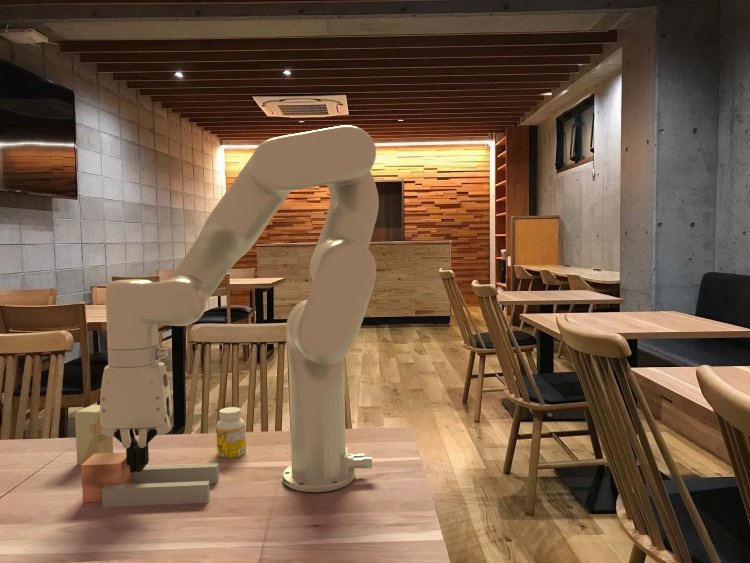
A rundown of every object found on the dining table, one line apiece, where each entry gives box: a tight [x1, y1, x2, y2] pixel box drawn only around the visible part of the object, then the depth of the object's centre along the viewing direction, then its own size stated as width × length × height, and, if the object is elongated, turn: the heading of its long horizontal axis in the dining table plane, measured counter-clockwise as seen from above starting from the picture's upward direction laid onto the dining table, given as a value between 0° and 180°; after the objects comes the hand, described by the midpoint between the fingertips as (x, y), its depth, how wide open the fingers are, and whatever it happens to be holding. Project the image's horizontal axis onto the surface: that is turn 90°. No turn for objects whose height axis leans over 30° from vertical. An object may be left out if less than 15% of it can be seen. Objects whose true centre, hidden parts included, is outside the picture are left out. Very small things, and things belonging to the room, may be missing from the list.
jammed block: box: [80, 451, 133, 503], centre depth 95 cm, size 6×5×6 cm
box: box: [74, 404, 114, 466], centre depth 111 cm, size 5×4×11 cm
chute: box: [102, 463, 220, 508], centre depth 96 cm, size 24×12×4 cm, turn 94°
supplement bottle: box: [215, 406, 247, 459], centre depth 113 cm, size 5×5×10 cm
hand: (138, 469), depth 96 cm, fingers closed
